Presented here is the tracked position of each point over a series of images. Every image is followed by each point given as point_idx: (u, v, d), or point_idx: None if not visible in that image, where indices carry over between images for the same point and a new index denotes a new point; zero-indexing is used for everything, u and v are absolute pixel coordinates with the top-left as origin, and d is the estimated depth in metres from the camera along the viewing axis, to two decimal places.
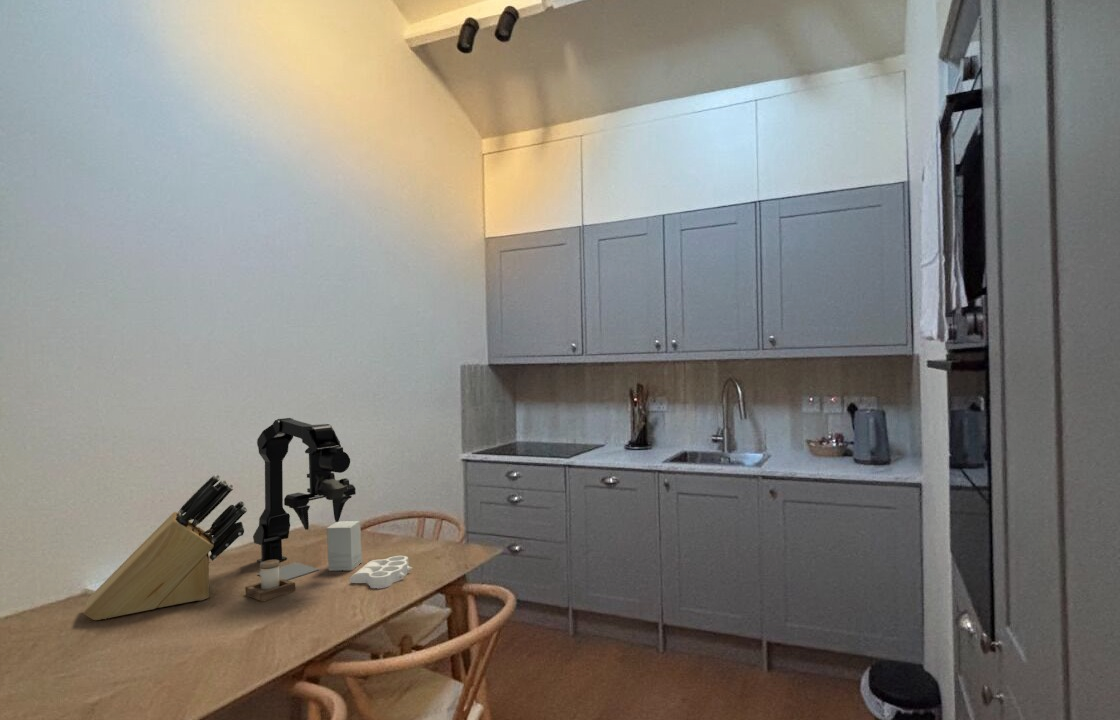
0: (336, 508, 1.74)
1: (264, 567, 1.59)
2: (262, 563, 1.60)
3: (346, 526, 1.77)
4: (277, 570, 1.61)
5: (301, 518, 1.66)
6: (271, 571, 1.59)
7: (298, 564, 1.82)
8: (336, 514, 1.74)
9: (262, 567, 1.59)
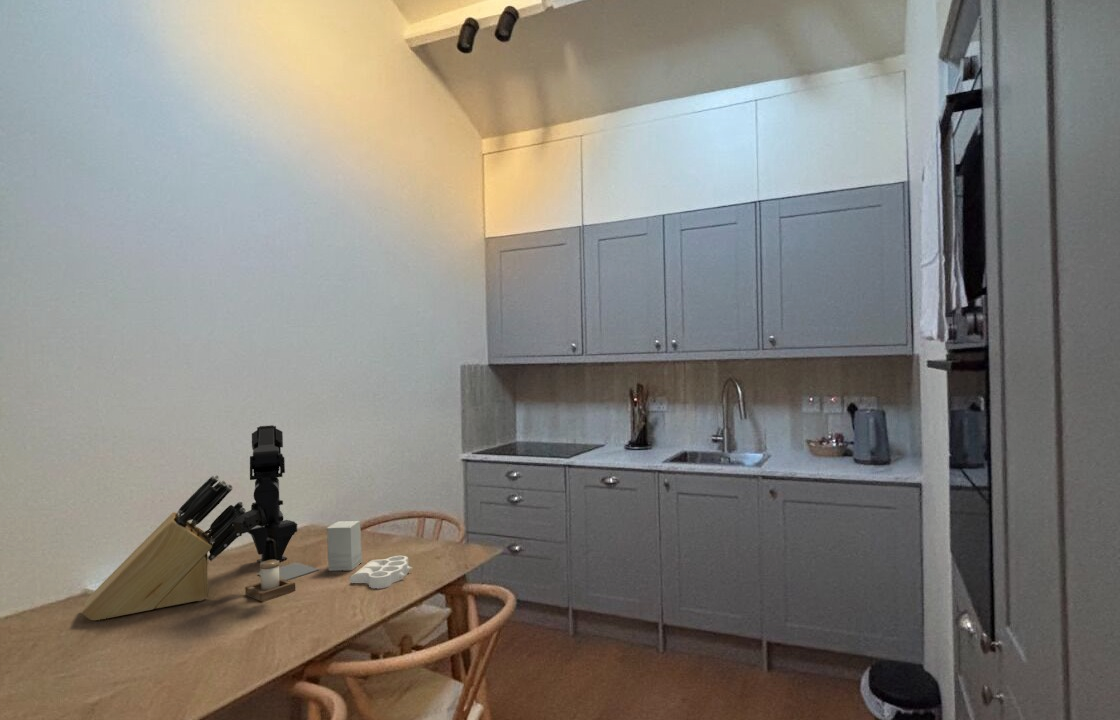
0: None
1: (264, 567, 1.59)
2: (262, 563, 1.60)
3: (346, 526, 1.77)
4: (277, 570, 1.61)
5: None
6: (271, 572, 1.59)
7: (298, 564, 1.82)
8: None
9: (262, 567, 1.59)
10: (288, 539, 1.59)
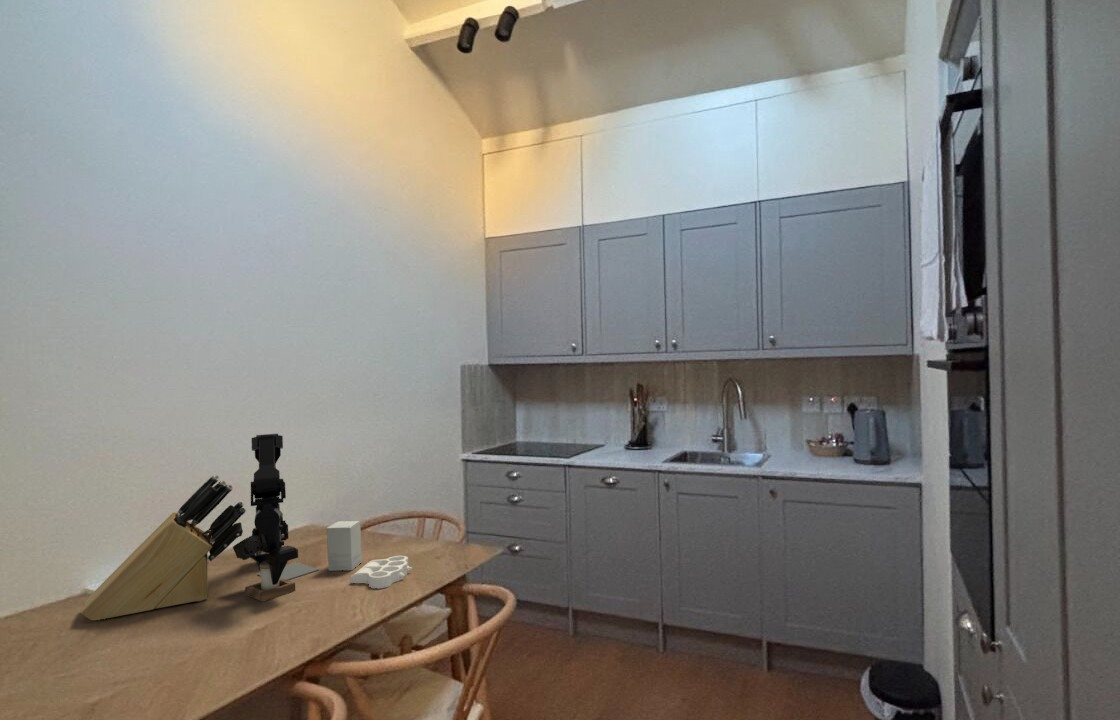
0: None
1: (264, 567, 1.59)
2: (262, 563, 1.60)
3: (345, 526, 1.77)
4: None
5: None
6: None
7: (298, 564, 1.82)
8: None
9: (262, 567, 1.59)
10: (284, 563, 1.60)
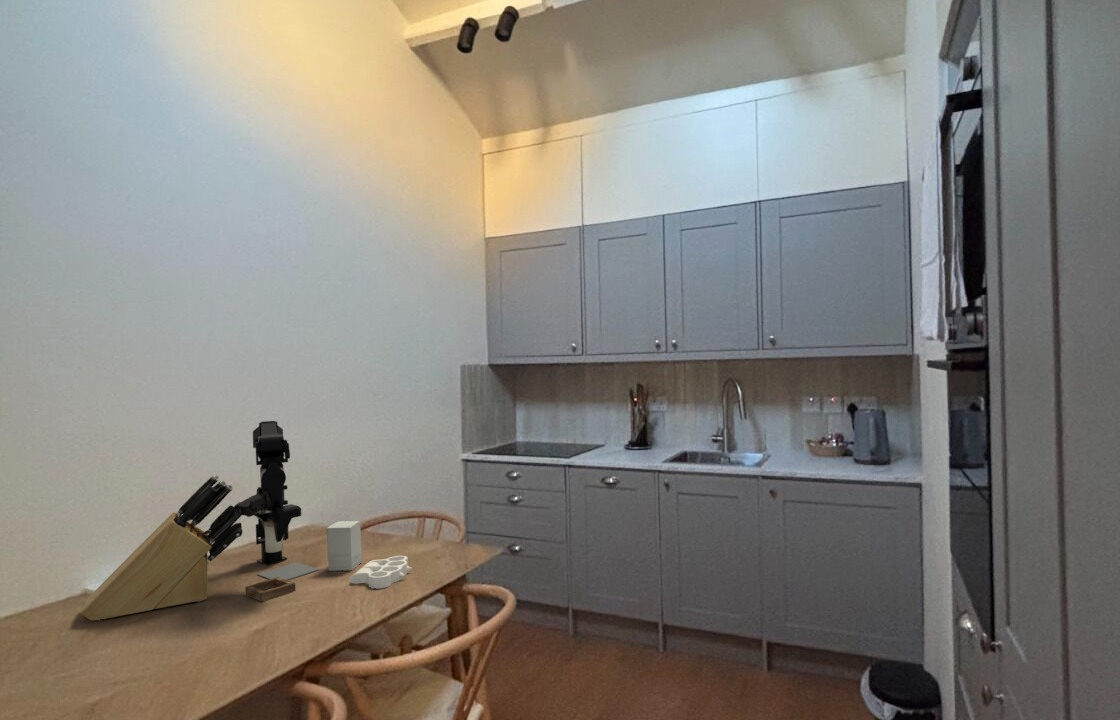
0: None
1: (268, 525, 1.63)
2: (266, 521, 1.65)
3: (346, 526, 1.77)
4: None
5: None
6: None
7: (298, 564, 1.82)
8: None
9: (266, 525, 1.63)
10: (288, 521, 1.64)
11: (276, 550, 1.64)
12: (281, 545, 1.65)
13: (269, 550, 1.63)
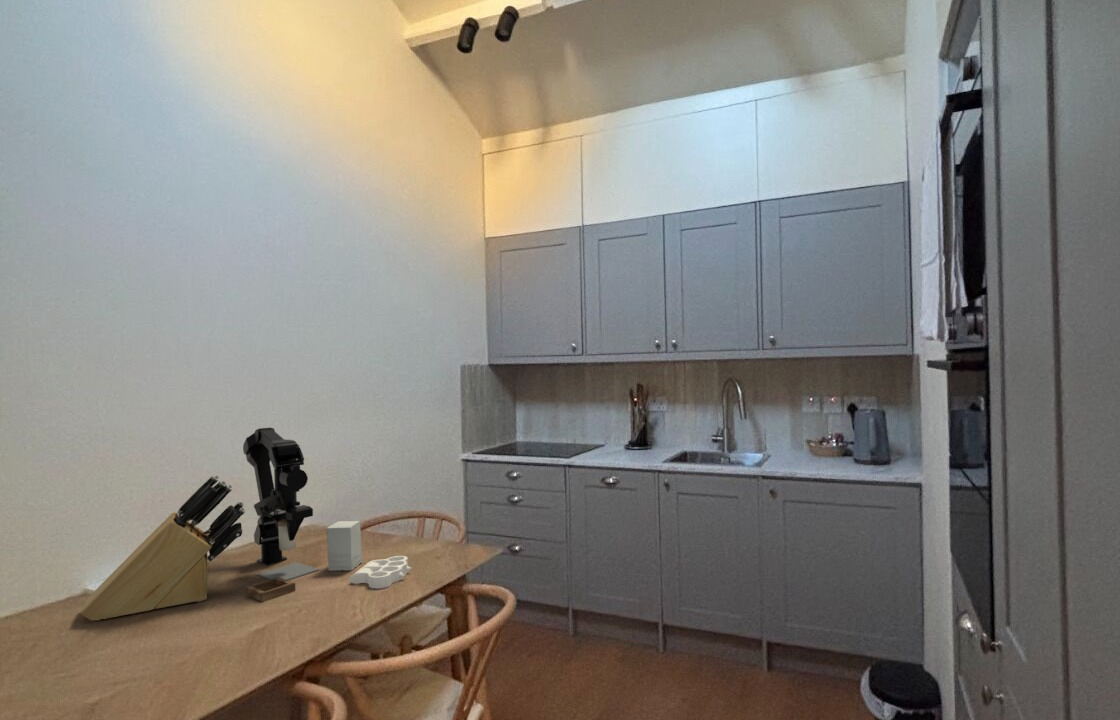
0: None
1: (282, 524, 1.74)
2: (280, 521, 1.76)
3: (345, 526, 1.77)
4: None
5: None
6: None
7: (298, 564, 1.82)
8: None
9: (280, 524, 1.74)
10: (300, 521, 1.75)
11: (289, 548, 1.75)
12: (294, 543, 1.76)
13: (283, 548, 1.74)
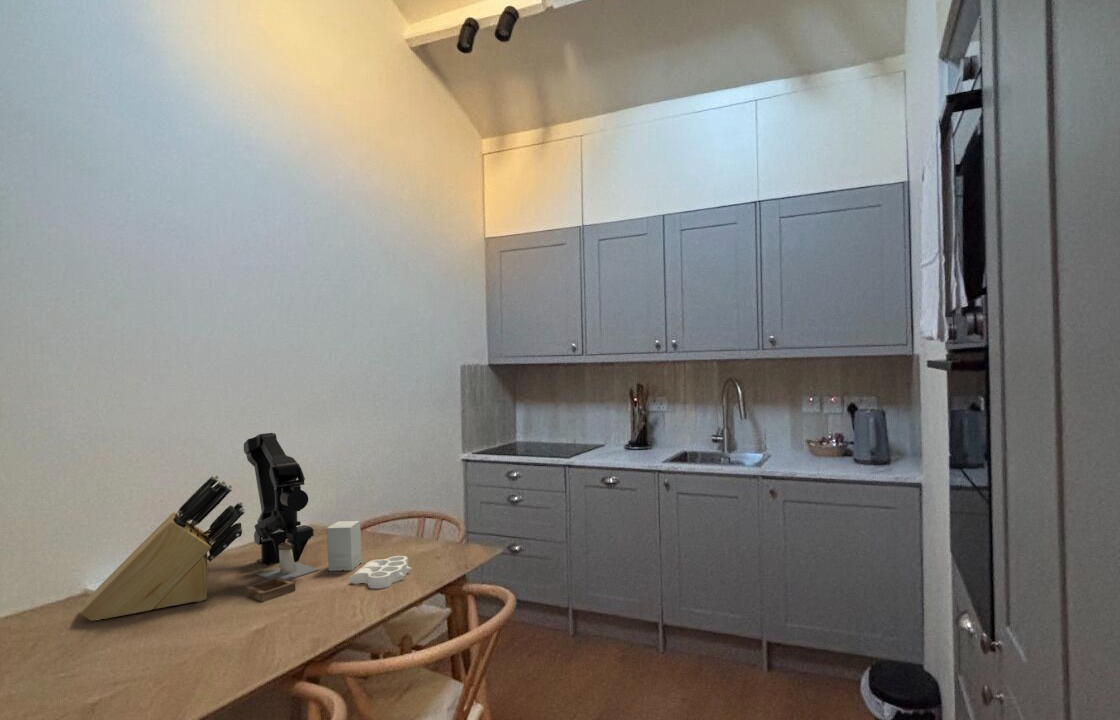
0: None
1: (282, 548, 1.74)
2: (280, 544, 1.76)
3: (345, 526, 1.77)
4: None
5: None
6: (289, 552, 1.74)
7: (298, 564, 1.82)
8: None
9: (281, 548, 1.74)
10: (305, 542, 1.74)
11: (290, 572, 1.75)
12: (294, 567, 1.76)
13: (283, 572, 1.74)
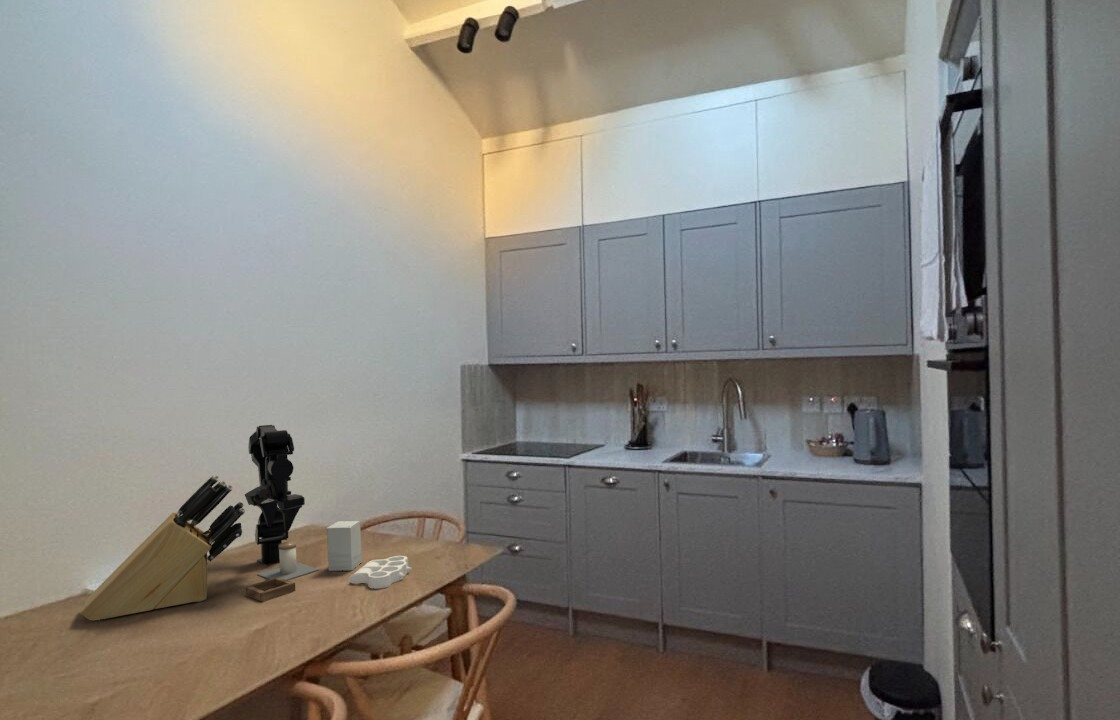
0: None
1: (283, 548, 1.74)
2: (281, 544, 1.76)
3: (345, 526, 1.77)
4: (294, 551, 1.76)
5: None
6: (289, 552, 1.75)
7: (298, 564, 1.82)
8: None
9: (281, 548, 1.74)
10: (296, 512, 1.73)
11: (290, 572, 1.75)
12: (294, 567, 1.76)
13: (283, 572, 1.74)
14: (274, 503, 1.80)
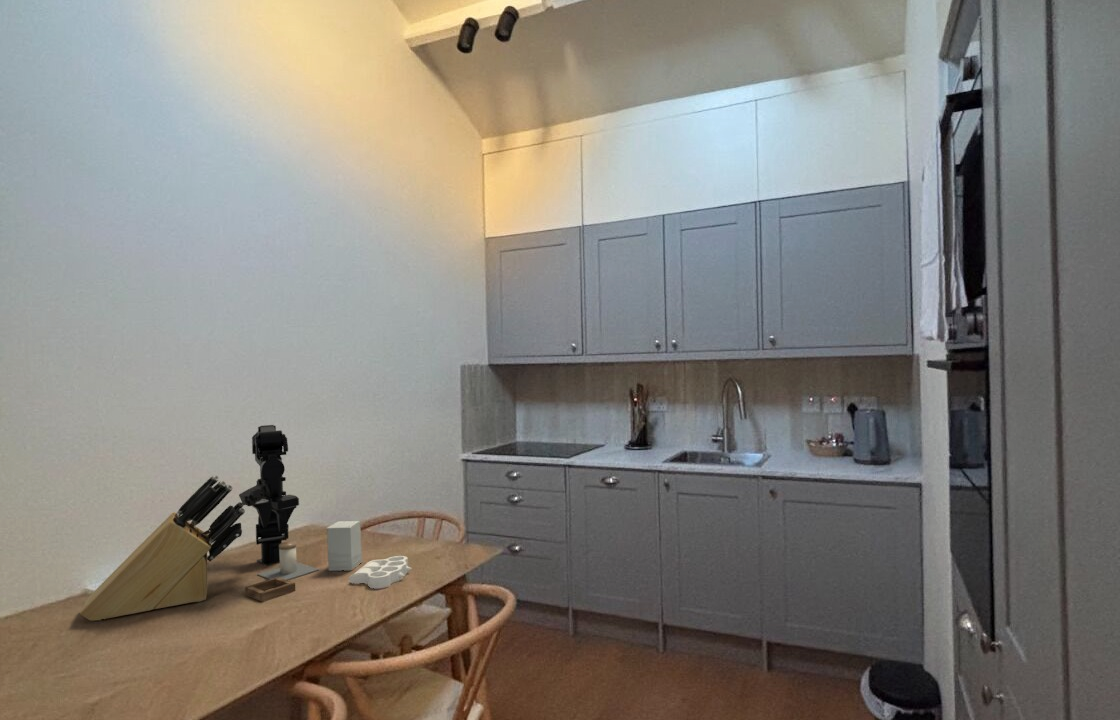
0: None
1: (283, 548, 1.74)
2: (281, 544, 1.76)
3: (345, 526, 1.77)
4: (294, 551, 1.76)
5: None
6: (289, 552, 1.75)
7: (298, 564, 1.82)
8: None
9: (281, 548, 1.74)
10: (290, 512, 1.73)
11: (290, 572, 1.75)
12: (294, 567, 1.76)
13: (283, 572, 1.74)
14: (269, 503, 1.80)
